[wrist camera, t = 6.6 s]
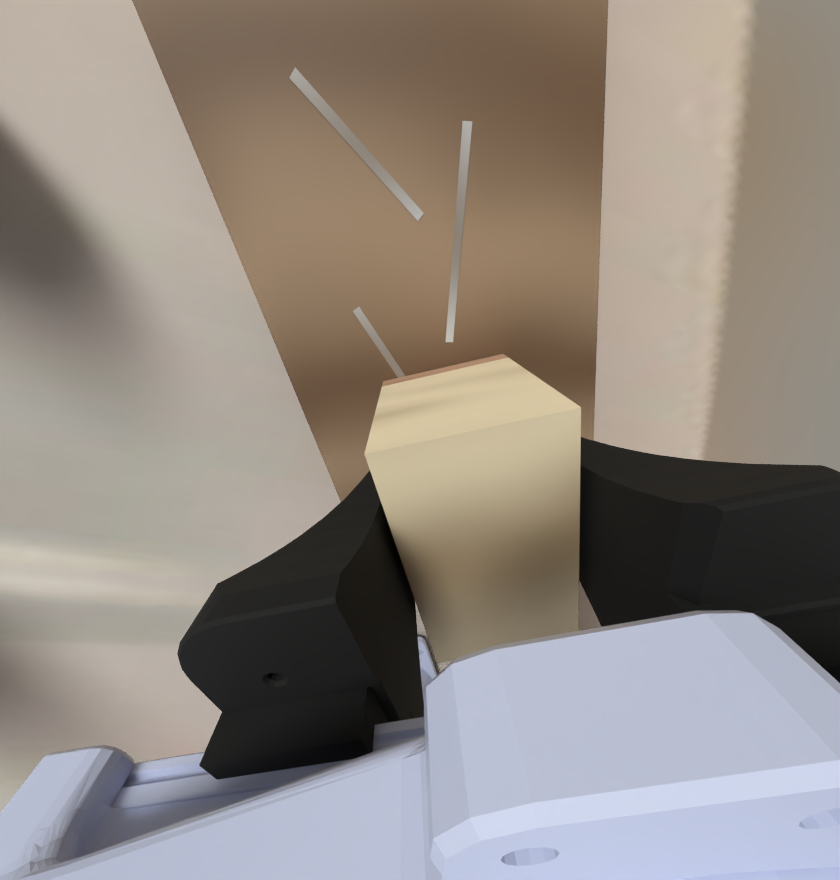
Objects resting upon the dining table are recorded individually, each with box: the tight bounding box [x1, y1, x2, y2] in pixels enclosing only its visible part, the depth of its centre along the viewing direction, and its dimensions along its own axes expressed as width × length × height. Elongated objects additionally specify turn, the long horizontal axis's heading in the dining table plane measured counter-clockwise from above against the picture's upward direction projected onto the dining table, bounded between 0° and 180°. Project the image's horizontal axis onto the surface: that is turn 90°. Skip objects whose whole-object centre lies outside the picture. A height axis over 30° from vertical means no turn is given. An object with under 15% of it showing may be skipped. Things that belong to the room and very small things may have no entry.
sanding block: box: [364, 354, 581, 663], centre depth 9 cm, size 7×4×5 cm, turn 13°
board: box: [132, 0, 608, 502], centre depth 11 cm, size 20×10×2 cm, turn 13°
